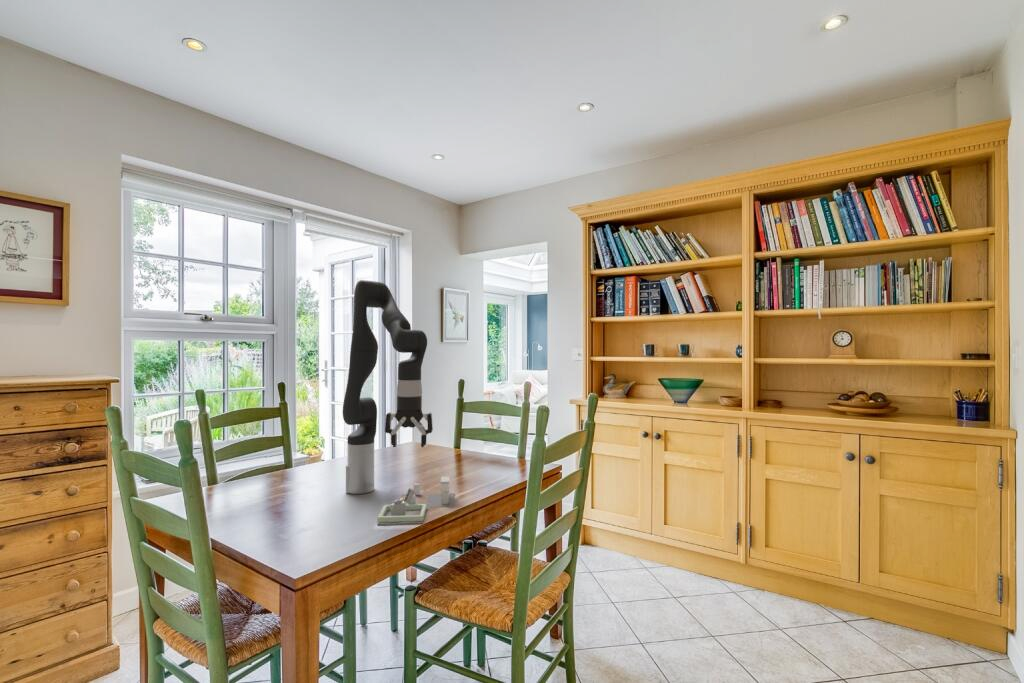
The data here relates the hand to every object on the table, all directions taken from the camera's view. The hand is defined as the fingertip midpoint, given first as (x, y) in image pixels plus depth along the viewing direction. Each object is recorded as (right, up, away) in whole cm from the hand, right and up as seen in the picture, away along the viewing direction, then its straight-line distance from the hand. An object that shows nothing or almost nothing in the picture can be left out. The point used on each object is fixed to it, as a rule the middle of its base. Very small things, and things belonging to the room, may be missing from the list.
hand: (408, 446), depth 151 cm
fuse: (+10, -20, +10) cm, 24 cm away
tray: (-1, -21, -4) cm, 21 cm away
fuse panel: (+4, -21, +10) cm, 23 cm away
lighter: (-1, -21, -4) cm, 21 cm away
